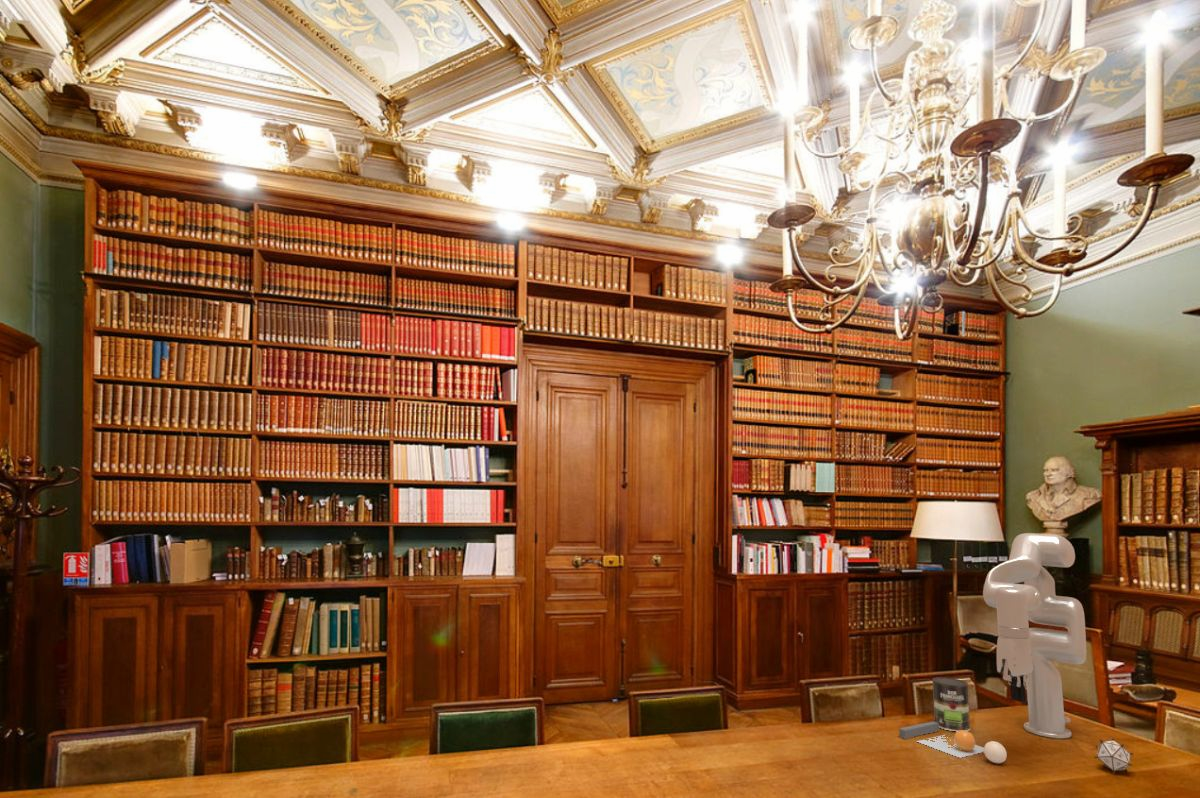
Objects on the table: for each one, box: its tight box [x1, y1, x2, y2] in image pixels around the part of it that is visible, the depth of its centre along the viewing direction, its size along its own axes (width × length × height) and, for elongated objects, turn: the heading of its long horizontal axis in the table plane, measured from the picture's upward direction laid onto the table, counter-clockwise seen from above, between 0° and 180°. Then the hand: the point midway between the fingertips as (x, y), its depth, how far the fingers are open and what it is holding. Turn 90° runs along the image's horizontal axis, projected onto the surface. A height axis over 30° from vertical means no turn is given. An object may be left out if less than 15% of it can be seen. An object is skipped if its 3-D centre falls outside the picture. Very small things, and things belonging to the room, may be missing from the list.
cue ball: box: [983, 740, 1008, 764], centre depth 186 cm, size 6×6×6 cm
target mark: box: [915, 734, 984, 759], centre depth 198 cm, size 14×14×1 cm
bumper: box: [898, 720, 940, 740], centre depth 208 cm, size 16×2×2 cm, turn 118°
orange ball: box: [953, 730, 976, 751], centre depth 195 cm, size 6×6×6 cm
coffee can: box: [931, 676, 971, 733], centre depth 216 cm, size 10×10×14 cm
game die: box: [1093, 737, 1134, 775], centre depth 182 cm, size 9×8×10 cm
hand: (1018, 700), depth 186 cm, fingers closed
